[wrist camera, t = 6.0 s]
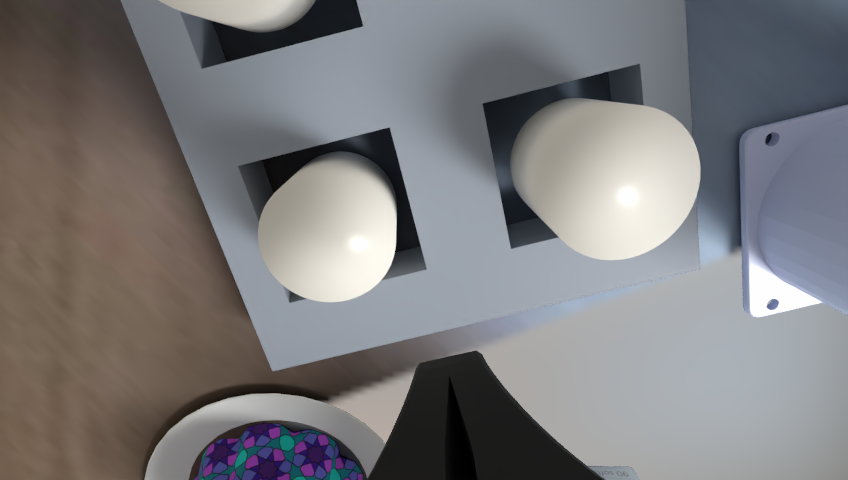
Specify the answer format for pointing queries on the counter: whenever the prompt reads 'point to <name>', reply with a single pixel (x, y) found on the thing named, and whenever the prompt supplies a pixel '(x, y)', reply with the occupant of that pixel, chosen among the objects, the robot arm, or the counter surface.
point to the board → (412, 150)
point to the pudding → (268, 442)
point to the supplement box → (615, 473)
